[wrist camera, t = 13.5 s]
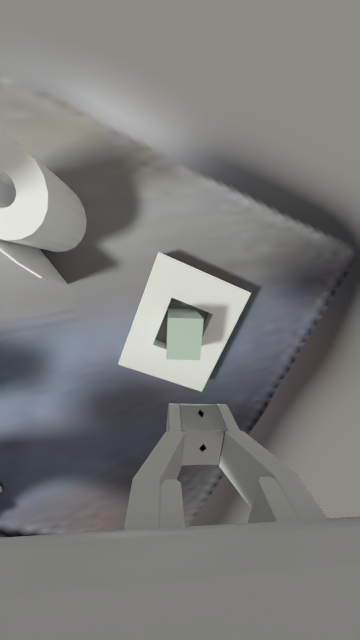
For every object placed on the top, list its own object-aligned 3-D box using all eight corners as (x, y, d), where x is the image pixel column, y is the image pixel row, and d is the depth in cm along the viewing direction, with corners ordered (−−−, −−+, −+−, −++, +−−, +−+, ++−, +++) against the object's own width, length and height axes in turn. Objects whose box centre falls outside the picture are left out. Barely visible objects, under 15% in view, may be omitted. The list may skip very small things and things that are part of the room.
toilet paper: (66, 284, 23) (23, 287, 16) (2, 204, 20) (-81, 167, 13) (115, 251, 22) (91, 239, 15) (55, 163, 20) (-5, 103, 13)
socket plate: (198, 381, 28) (201, 391, 25) (122, 356, 26) (117, 364, 23) (243, 291, 24) (251, 293, 22) (159, 254, 23) (158, 251, 20)
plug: (193, 341, 26) (200, 360, 20) (167, 340, 25) (166, 359, 19) (195, 309, 24) (203, 319, 18) (168, 308, 24) (167, 317, 18)
